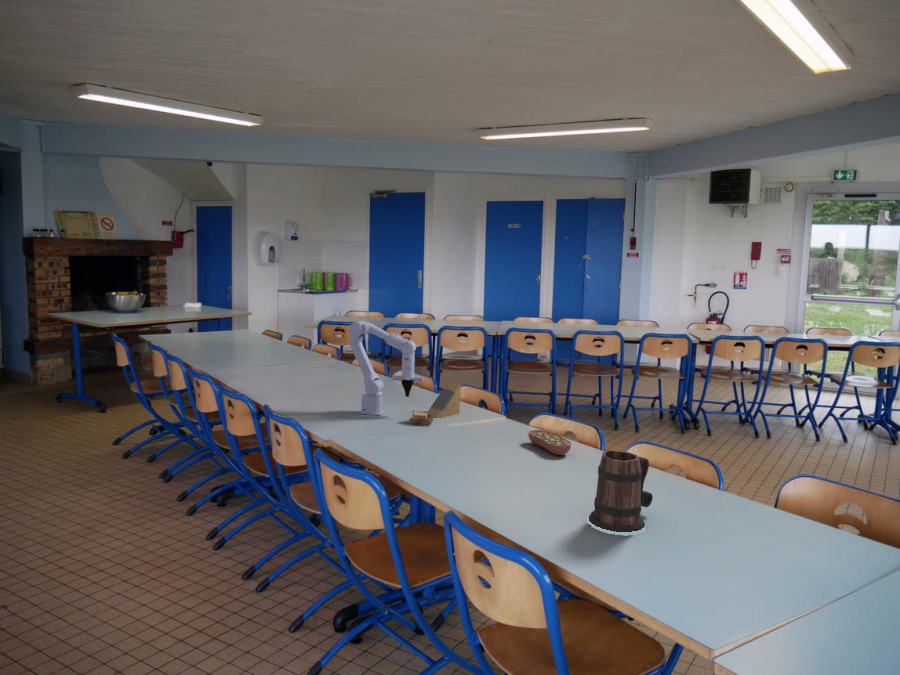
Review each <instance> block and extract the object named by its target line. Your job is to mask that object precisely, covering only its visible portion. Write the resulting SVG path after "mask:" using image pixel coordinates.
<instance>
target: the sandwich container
mask: <svg viewBox="0 0 900 675" xmlns="http://www.w3.org/2000/svg"><path fill="white" fill-rule="evenodd" d="M461 387H462V386H461V383H457V382H455V381H454V382H453V381H448V380H447V382H446V384H445V386H443V388H442V390H440V393H439V394H438V396H437V397H436V399H435V400H434V401H433V403H432V404H431V406H430V407H429V408H428V410H427V412H426V413H428V414H433V418H440V419H443V418H442V417H445V418H447V417H446V416H450V417H452V416H451V415H455V414H459V415H460V406H461ZM455 416H456V415H455Z"/></svg>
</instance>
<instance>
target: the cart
mask: <svg viewBox="0 0 900 675" xmlns="http://www.w3.org/2000/svg"><path fill="white" fill-rule="evenodd" d="M411 418H426V419H427V418H428V413H427V412H417V407H416V406H415V407H413V409H412V417H411Z"/></svg>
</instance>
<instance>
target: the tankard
mask: <svg viewBox="0 0 900 675" xmlns="http://www.w3.org/2000/svg"><path fill="white" fill-rule="evenodd" d="M649 467H650V461H649V459H648V458H646V457H643V456H639V455H637V454H635V453H632V452H628V451H620V450H619V451H618V450H606V451H603V452H602V454H601V459H600V463H599V465H598V467H597V468H598V469H597V474H598V475H597V485H596V494H595V495H596V496H595V497H594V502H593V504H594V510H593V511H592V512H591V511H590V512H591V513H590V514H589V515H588V516H589V521H590V522H591V523H592V524H594V525H595V526H597V527H600V528H602V529H606V530H610V531H614V532H615V531H616V532H632V531H638V530H641V529H642V528H644V526H645V524H646V522H645V521H644V519H643V517H641V513H642V507H643V508H648V507H649V506H651V504H652V503H653V494H652V493H651V492H649V491H646V490H644V484H645V481H646V480H645V479H646V477H647V474H648V473H649Z"/></svg>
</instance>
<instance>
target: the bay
mask: <svg viewBox="0 0 900 675" xmlns="http://www.w3.org/2000/svg"><path fill="white" fill-rule="evenodd" d="M432 421H433V422H434V419H433V414H428V418H427V419H426V418H412V417H409V425H410V424H412V425H411V426H422V425H430V424H431V425H432V423H433V422H432ZM431 425H430V426H431Z"/></svg>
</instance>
